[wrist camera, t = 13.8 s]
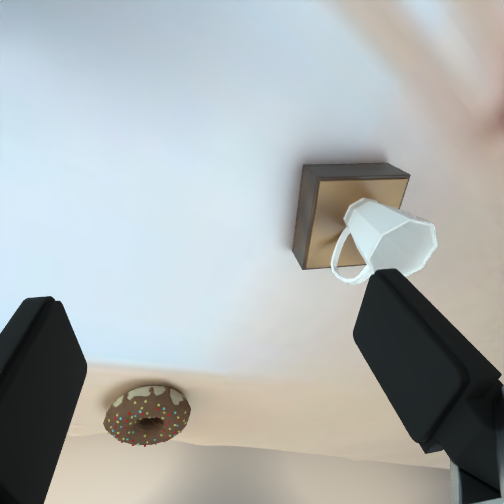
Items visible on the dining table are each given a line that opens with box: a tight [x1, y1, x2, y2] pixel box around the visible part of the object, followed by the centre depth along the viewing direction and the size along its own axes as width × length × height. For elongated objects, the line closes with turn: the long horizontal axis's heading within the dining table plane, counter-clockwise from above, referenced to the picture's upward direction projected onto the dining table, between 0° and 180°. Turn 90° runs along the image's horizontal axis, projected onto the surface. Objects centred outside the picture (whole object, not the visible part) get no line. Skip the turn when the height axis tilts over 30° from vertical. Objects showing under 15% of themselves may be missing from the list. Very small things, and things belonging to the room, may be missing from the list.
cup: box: [331, 197, 438, 285], centre depth 31 cm, size 7×10×8 cm
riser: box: [292, 163, 410, 270], centre depth 37 cm, size 12×11×5 cm
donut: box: [103, 386, 191, 447], centre depth 52 cm, size 14×14×5 cm
